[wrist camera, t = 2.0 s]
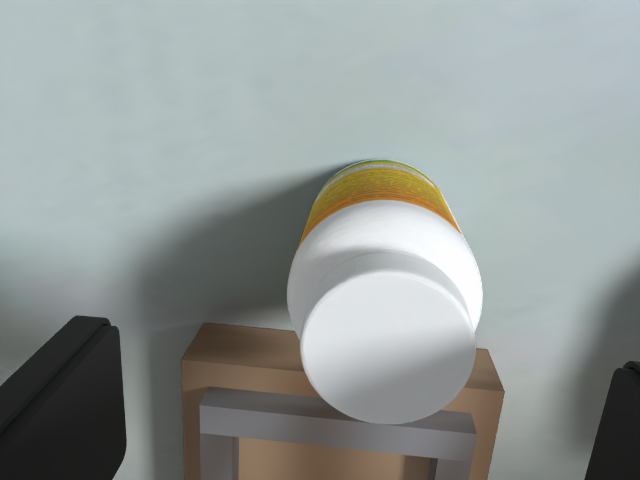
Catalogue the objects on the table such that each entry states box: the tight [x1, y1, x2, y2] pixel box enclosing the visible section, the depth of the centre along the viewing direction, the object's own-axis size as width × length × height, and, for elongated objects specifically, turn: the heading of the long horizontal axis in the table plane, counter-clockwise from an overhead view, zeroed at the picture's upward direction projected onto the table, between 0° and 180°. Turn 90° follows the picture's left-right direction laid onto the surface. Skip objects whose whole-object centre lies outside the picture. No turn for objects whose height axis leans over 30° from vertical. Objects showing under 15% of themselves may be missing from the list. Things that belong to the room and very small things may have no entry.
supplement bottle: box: [287, 159, 483, 424], centre depth 17 cm, size 5×5×10 cm
